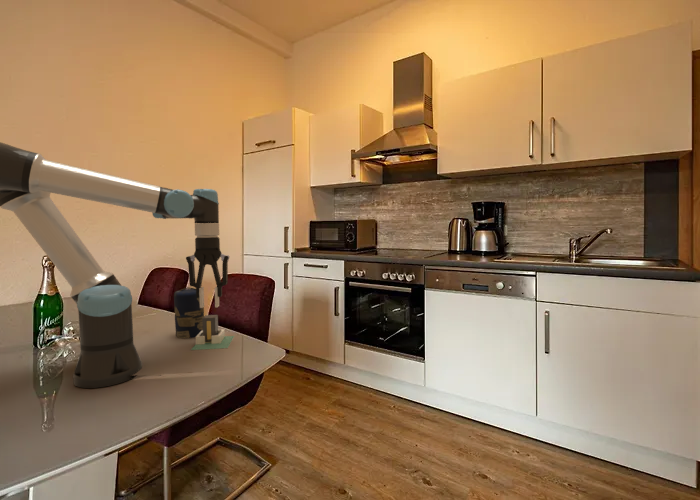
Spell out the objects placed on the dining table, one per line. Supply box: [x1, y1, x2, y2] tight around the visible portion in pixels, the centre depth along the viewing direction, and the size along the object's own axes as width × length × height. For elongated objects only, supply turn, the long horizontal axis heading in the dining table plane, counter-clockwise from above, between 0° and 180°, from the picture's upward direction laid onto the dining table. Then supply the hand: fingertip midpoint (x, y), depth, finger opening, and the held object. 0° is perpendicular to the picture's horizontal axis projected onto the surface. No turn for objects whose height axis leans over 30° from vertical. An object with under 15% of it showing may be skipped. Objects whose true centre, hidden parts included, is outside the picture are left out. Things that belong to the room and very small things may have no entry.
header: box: [195, 328, 226, 345], centre depth 123 cm, size 8×8×2 cm
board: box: [190, 335, 235, 351], centre depth 121 cm, size 13×11×1 cm
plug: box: [202, 314, 219, 342], centre depth 123 cm, size 4×4×8 cm
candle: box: [173, 286, 205, 339], centre depth 130 cm, size 10×10×18 cm
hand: (209, 306), depth 122 cm, fingers open, 4 cm apart
